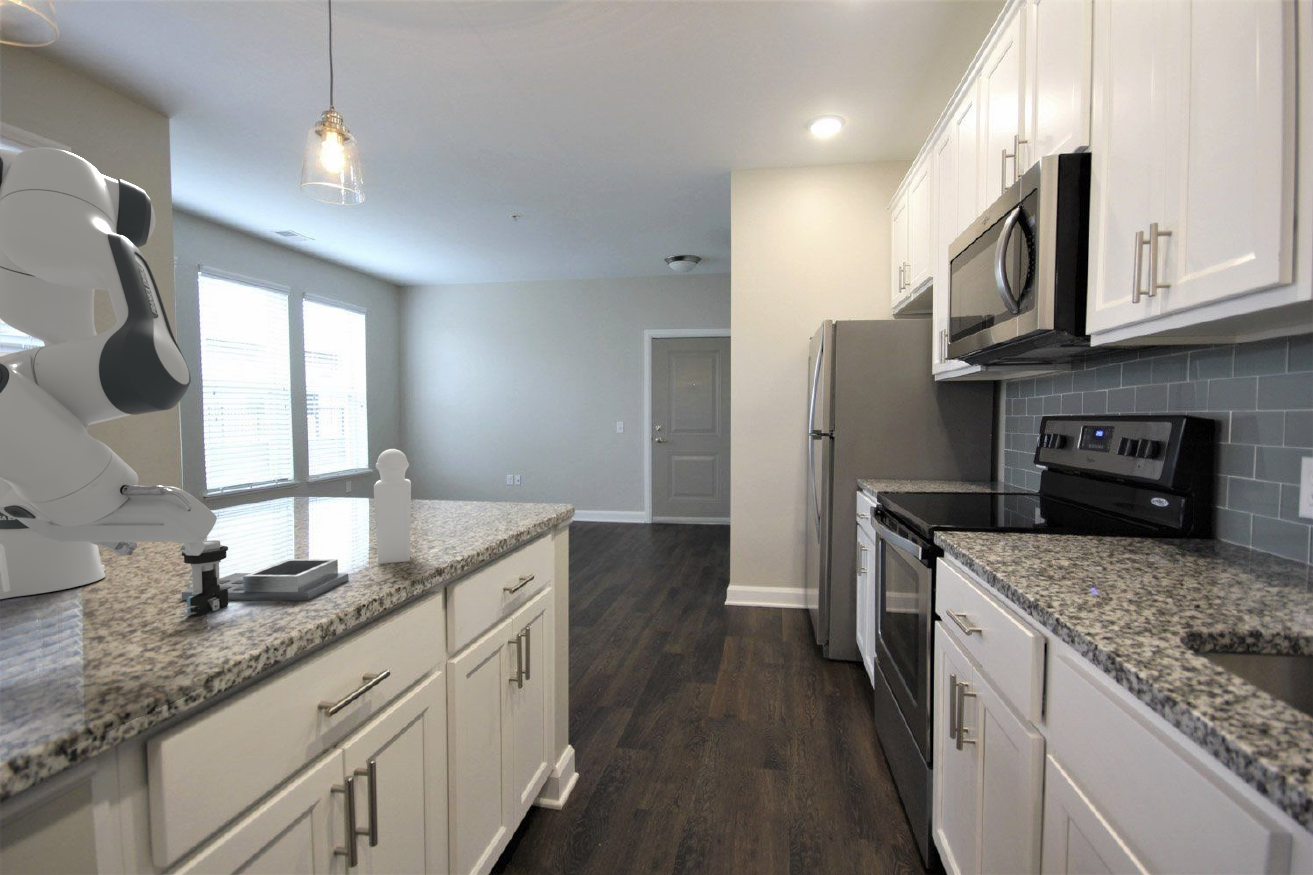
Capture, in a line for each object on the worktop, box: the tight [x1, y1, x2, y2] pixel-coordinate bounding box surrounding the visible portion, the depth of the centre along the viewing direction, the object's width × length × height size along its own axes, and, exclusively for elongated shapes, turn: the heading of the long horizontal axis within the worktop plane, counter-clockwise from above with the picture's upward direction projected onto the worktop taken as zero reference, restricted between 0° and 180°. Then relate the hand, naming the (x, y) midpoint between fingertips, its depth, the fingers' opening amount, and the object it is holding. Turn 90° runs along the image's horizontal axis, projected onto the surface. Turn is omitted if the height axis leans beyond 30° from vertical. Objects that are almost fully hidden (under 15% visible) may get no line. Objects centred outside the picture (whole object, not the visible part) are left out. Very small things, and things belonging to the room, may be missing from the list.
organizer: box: [181, 558, 349, 601], centre depth 95 cm, size 20×11×4 cm, turn 88°
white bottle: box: [373, 448, 412, 565], centre depth 114 cm, size 6×6×22 cm
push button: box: [179, 540, 229, 618], centre depth 84 cm, size 7×5×10 cm
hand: (163, 551), depth 77 cm, fingers open, 8 cm apart
